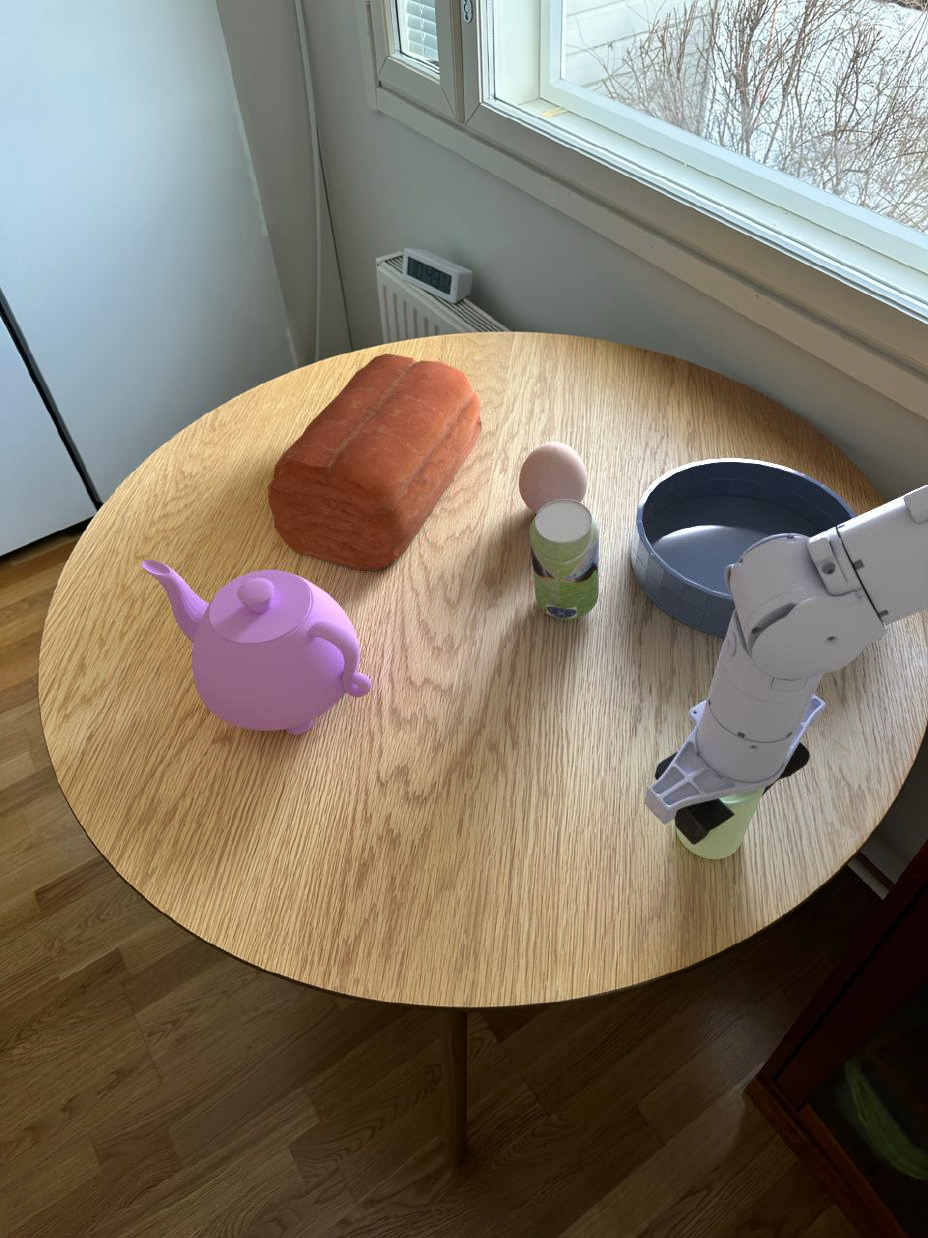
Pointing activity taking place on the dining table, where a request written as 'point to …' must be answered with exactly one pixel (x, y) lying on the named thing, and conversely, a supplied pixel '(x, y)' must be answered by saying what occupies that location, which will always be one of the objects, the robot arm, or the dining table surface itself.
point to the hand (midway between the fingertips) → (714, 814)
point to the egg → (552, 476)
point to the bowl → (719, 530)
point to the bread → (375, 462)
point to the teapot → (267, 648)
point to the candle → (727, 827)
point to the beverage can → (565, 559)
